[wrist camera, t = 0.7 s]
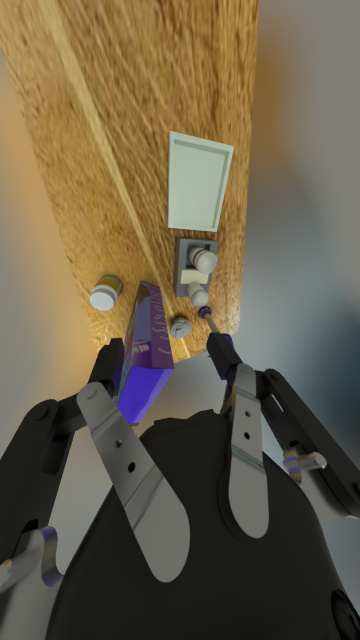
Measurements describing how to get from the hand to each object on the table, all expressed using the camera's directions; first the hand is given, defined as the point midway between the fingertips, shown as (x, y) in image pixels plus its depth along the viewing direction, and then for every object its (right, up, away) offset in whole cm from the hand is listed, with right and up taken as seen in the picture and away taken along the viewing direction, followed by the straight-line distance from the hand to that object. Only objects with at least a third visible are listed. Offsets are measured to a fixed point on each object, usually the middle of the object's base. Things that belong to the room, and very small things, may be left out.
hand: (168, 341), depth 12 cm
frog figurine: (0, +2, +29) cm, 29 cm away
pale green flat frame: (+4, +25, +12) cm, 28 cm away
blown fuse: (+4, +17, +17) cm, 25 cm away
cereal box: (-10, +4, +25) cm, 27 cm away
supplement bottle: (-15, +10, +19) cm, 26 cm away
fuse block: (+4, +15, +20) cm, 25 cm away
